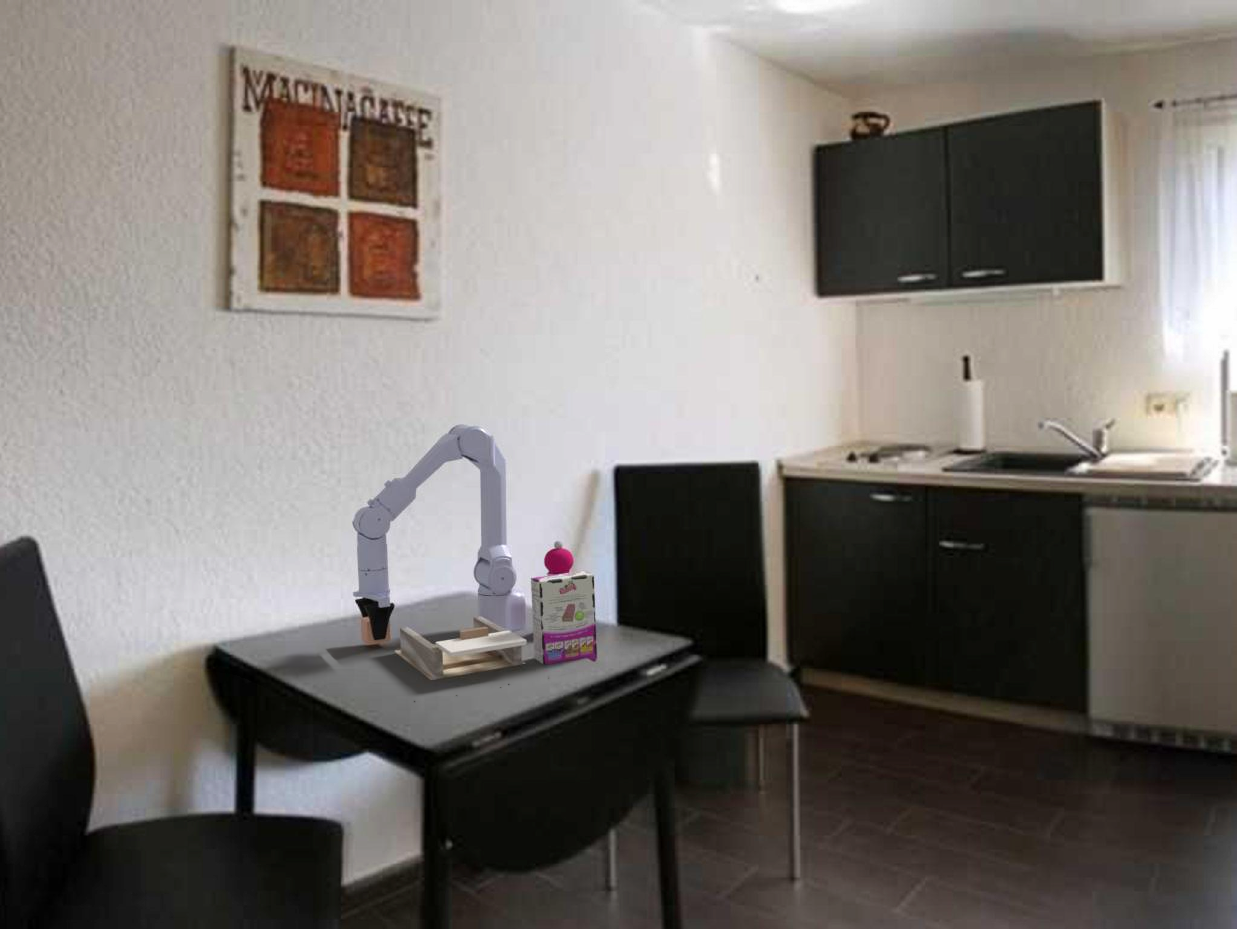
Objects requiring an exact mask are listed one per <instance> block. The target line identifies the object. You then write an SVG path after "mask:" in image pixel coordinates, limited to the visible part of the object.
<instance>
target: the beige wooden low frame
mask: <svg viewBox="0 0 1237 929" xmlns="http://www.w3.org/2000/svg"><path fill="white" fill-rule="evenodd" d="M481 627H487V628H488V633H489V634H490V633H496V632H503V631H507V630H505V629H503V628H502V627H500V626H498V625H496V624H494V623H492V622H491V621H489V620H487V619H485V618H483V617H481V616H479V615H478V616H474V617H473V629H474V628H481ZM399 637H400V638H399V640H400V649H396V650H394V652H395V653H396V654H397V655H398V656H400V657H401V658H402V659H404V661H406V662H407V663H408V664H410V665H411V666H412V667H413V668H415V669H417V671H418V672H420V673H421V674H422V675H424V676H425V677H426V678H428V680H430V681H435V680H441V679H447V678H451V677H457V676H463V675H469V674H474V673H480V672H486V671H490V670H496V669H497V670H498V669H503V668H508V667H509V668H510V667H513V666H519V665H524V664H525V665H526V662H524V661H523V656H522V655H523V652H522V651H523V650H522V647H523V645H522V646H516V647H510V648H504V649H498V650H492V651H485V652H479V653H473V654H467V655H461V656H455V657H450V656H449V655H448V654H446V653H445V652H443V651H442V650H440V649H439V648H437V647H436V643H432V642H430V641H429V640H427V639H426V638H424V637H423V636H422V635H420V634H419V633H418V632H416V631H414V630H413V629H411V628H410V627H409V626H405V627H399Z"/></svg>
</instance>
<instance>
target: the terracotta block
mask: <svg viewBox="0 0 1237 929" xmlns="http://www.w3.org/2000/svg"><path fill="white" fill-rule="evenodd" d="M390 623H391V621H390V619H389V623H388V628H387V633H386V638H385V639H381V640H374V638H373V634H372V629H371V624H370V620H369V617H360V634H361V635H360V636H361V641H362V642H363V643H365V645H367V646H371V645H372V646H373V645H379V644H385V643H391V624H390Z"/></svg>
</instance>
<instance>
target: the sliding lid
mask: <svg viewBox="0 0 1237 929" xmlns="http://www.w3.org/2000/svg"><path fill="white" fill-rule="evenodd" d="M435 644H436V647H437V648H439V649H440V650H442V651H443V652H445V653H446V654H448V655H449V656H450V657H455V656H461V655H467V654H473V653H479V652H485V651H492V650H498V649H504V648H510V647H516V646H522V647H523V646H526V645H528V641H527V639H525V638H524V637H522V636H520V635H518V634H516V633H514V632H513V631H503V632H496V633H490V634H489V633H488V628H487V627H481V628H474V627H473V628H469V629H468V628H467V629H462V630H461V629H460V630H459V638H454V639H446V640H440V641H435Z"/></svg>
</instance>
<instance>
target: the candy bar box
mask: <svg viewBox="0 0 1237 929" xmlns="http://www.w3.org/2000/svg"><path fill="white" fill-rule="evenodd" d="M530 587H531V588H530V589H531V590H530V591H531V611H532V613H531V614H532V632H533V633H532V634H533V653H534V656H533V657H534V660H536V661H537V662H539V663H541V664H542V665H548V664H554V663H561V662H565V661H566V662H567V661H571V660H578V659H582V658H583V659H585V658H586V659H588V660H589V661H596V660H598V647H597V646H598V645H597V643H598V642H597V625H596V624H597V623H596V620H597V619H596V596H595V575H594V574H593V573H590V572H588V571H587V570H586V571H585V570H580V571H575V572H574V571H573V572H572V571H571V573H564V574H557V575H550V576H548V575H544V576H536V577H531V578H530Z"/></svg>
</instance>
